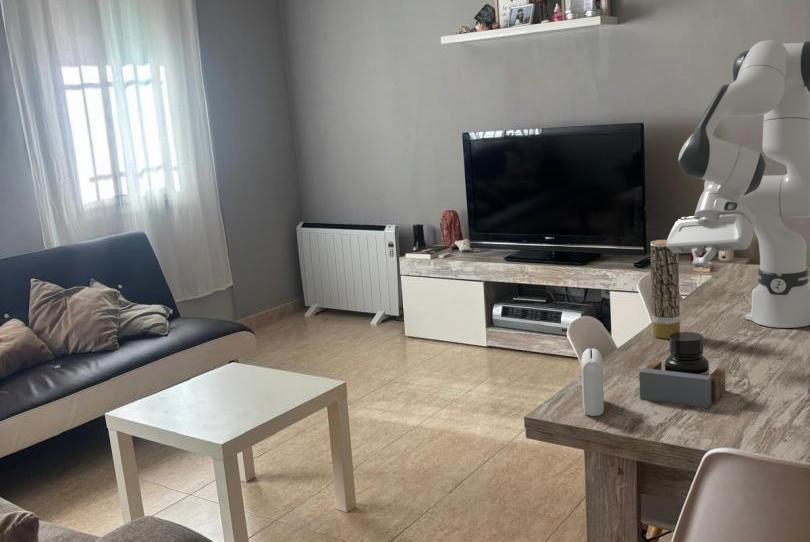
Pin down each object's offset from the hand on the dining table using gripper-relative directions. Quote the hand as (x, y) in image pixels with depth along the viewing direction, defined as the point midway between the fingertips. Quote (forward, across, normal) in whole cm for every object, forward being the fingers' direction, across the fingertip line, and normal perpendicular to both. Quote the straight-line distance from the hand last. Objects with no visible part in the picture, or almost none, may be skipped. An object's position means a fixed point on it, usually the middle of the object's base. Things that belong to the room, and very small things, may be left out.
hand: (699, 266), depth 187 cm
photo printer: (+41, -4, -13) cm, 43 cm away
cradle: (+29, +4, +2) cm, 30 cm away
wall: (+34, +6, -2) cm, 34 cm away
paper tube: (+7, -23, +24) cm, 34 cm away
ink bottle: (+29, +4, +3) cm, 29 cm away
